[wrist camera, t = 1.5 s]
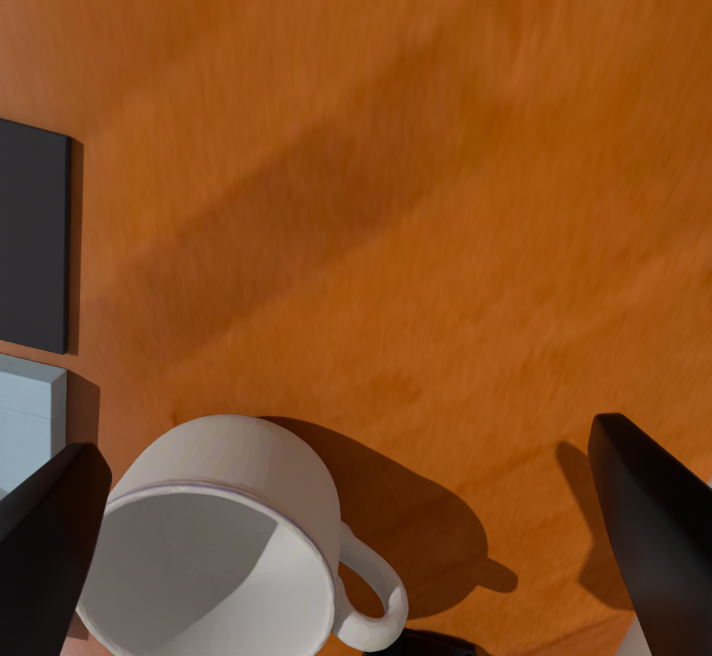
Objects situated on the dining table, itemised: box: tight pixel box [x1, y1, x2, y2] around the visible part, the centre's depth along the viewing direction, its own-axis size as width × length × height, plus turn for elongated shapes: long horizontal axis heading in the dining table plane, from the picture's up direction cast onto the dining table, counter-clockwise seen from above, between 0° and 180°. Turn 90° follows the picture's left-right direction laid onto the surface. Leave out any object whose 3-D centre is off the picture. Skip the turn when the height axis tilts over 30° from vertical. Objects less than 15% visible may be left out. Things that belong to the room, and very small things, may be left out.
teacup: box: [76, 414, 409, 656], centre depth 25 cm, size 14×11×8 cm
